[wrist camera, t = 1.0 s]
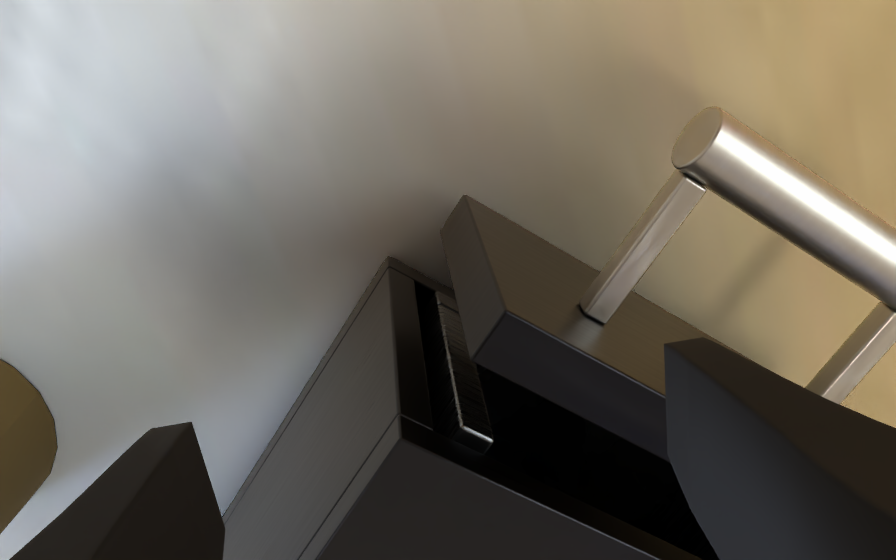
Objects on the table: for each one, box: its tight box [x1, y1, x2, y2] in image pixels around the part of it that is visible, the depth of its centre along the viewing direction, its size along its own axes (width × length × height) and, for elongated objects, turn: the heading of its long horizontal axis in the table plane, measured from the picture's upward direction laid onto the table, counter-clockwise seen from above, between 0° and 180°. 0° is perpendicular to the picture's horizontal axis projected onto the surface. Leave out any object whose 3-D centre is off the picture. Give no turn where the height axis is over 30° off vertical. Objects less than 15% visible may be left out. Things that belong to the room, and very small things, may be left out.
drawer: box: [419, 107, 896, 560], centre depth 21 cm, size 18×11×7 cm, turn 148°
